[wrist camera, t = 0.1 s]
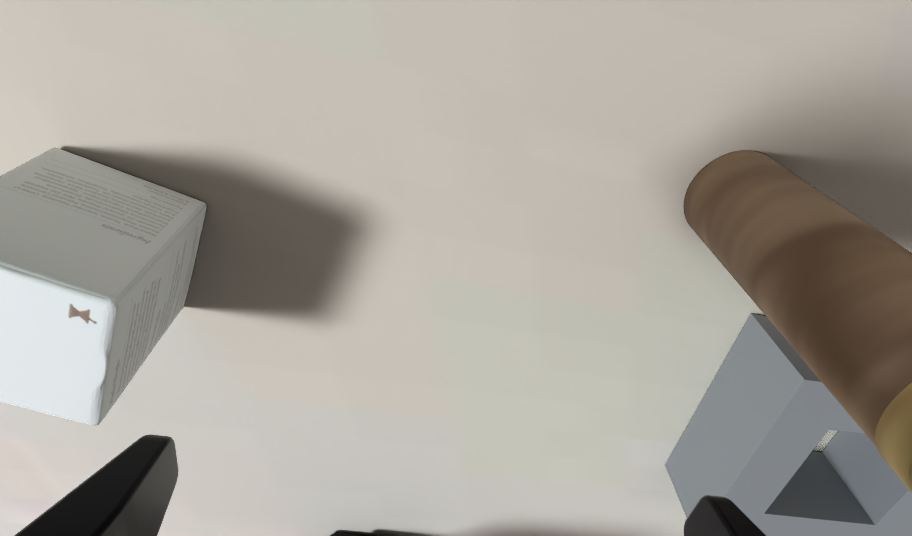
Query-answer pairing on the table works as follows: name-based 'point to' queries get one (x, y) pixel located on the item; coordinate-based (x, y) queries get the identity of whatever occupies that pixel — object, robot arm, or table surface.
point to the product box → (86, 280)
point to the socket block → (785, 449)
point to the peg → (818, 287)
